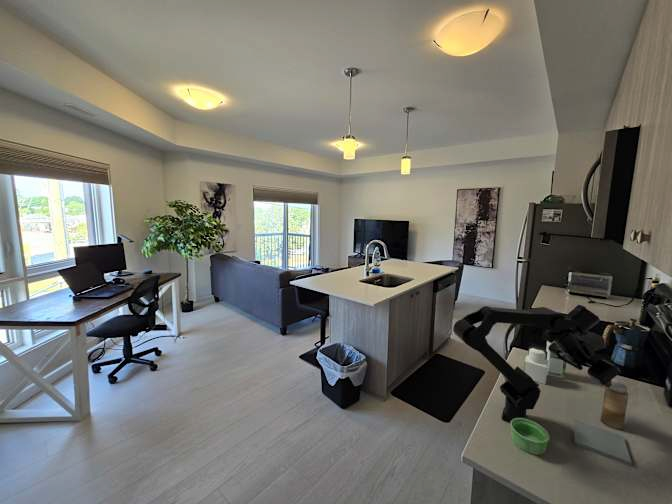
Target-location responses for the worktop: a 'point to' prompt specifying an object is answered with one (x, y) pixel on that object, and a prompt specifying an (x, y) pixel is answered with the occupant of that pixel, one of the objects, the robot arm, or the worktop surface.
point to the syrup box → (555, 364)
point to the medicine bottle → (536, 364)
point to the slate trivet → (601, 442)
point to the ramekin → (529, 436)
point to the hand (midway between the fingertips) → (594, 377)
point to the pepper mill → (614, 405)
